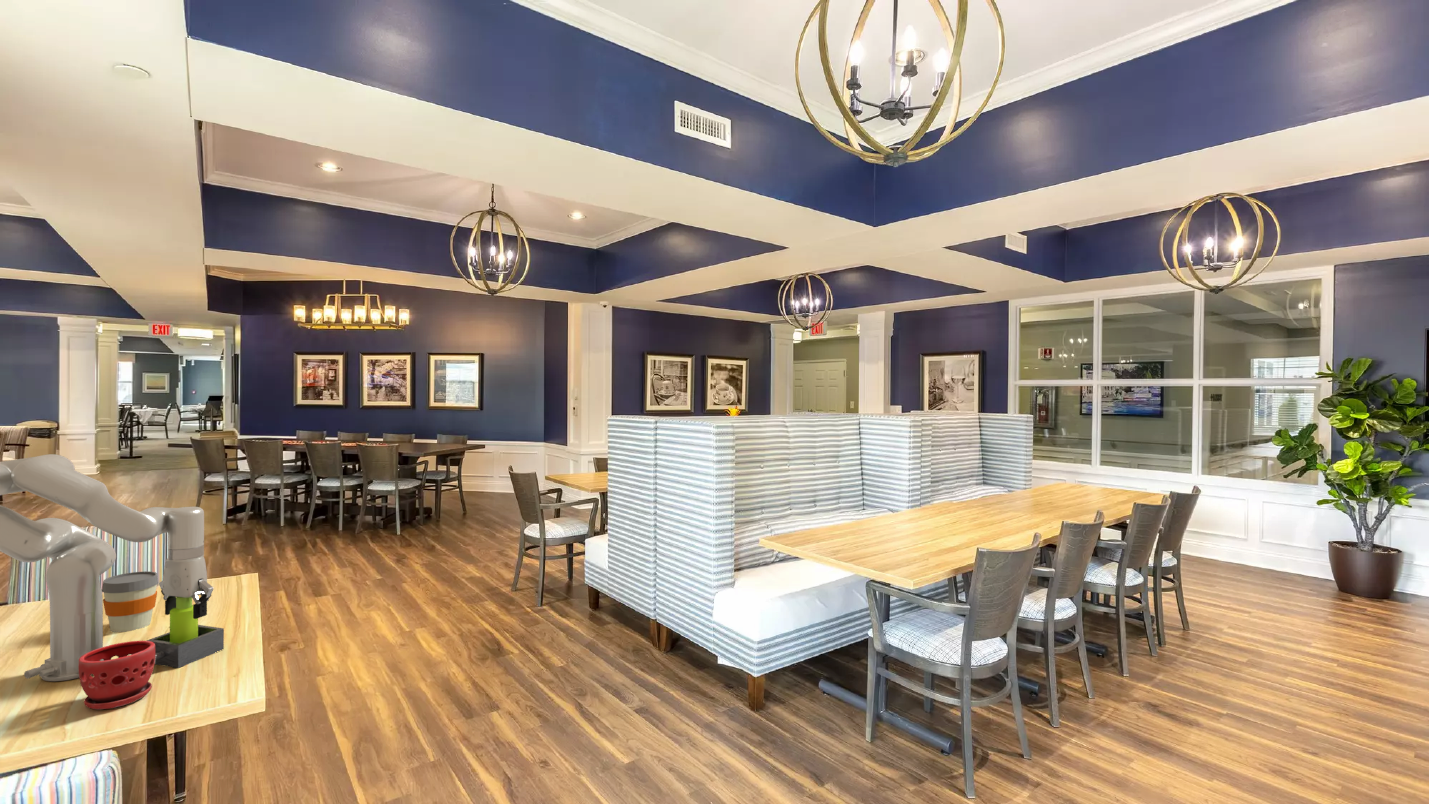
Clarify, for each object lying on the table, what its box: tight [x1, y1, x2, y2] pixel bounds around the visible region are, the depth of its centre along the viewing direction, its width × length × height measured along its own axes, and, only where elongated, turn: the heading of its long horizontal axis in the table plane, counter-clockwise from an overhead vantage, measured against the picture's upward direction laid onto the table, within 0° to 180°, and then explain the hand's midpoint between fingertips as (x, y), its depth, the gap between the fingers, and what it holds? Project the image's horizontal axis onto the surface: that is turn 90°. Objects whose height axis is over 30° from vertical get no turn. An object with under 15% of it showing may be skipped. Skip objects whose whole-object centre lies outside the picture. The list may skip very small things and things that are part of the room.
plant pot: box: [78, 640, 156, 710], centre depth 147 cm, size 13×13×12 cm
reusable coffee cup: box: [101, 570, 159, 633], centre depth 189 cm, size 12×13×15 cm
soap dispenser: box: [169, 597, 199, 644], centre depth 170 cm, size 6×7×20 cm
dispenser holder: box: [145, 624, 225, 669], centre depth 168 cm, size 17×11×6 cm, turn 167°
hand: (186, 615), depth 170 cm, fingers open, 9 cm apart
